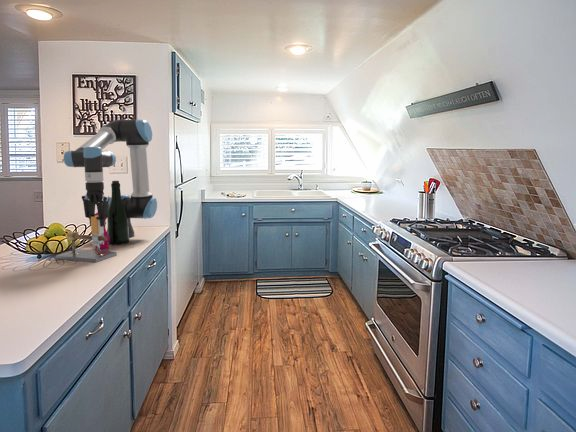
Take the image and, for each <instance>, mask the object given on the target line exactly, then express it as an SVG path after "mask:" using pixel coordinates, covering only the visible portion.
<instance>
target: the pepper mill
mask: <svg viewBox="0 0 576 432" xmlns="http://www.w3.org/2000/svg"><path fill="white" fill-rule="evenodd" d="M96 215H98V211H97V212H95V216H96ZM104 224H105V225H104V226H103V227H104V237H107V240H105V241H104V244H100V251H105V250H108V249H110V244H109V243H108V242H109V241H110V239H109V236H108V234H107V228H106V225H107V218H105V219H104ZM94 247H95V250H97V251H98V249H97V246H94Z"/></svg>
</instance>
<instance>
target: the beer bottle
mask: <svg viewBox="0 0 576 432" xmlns="http://www.w3.org/2000/svg"><path fill="white" fill-rule="evenodd" d="M110 186H111V196H110V197H111V202H110V205H109V208H108V218H107V219H106V225H107V228H108V236H109V239H110V241H109V242H108V244H109V245H113V246H119V245H121V246H122V245H126V244H129V243H130V237H129V228H128V216H127V211H126V208H125V206H124V203H123V201H122V198H121V195H122V194H121V193H122V192H121V184H120V181H119V180H111V184H110Z"/></svg>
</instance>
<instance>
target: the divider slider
mask: <svg viewBox="0 0 576 432" xmlns="http://www.w3.org/2000/svg"><path fill="white" fill-rule="evenodd" d="M98 219H99V216H98V215H96V216H91V226H90V228H92V233H91V236H92V240H91V241H92V247H95V246H97V249H98V250H97V249H96V250H97V251H98V253H100V252H99V251H101V250H100V244H104V241H100V240H99V236H104V233H102V234H98Z"/></svg>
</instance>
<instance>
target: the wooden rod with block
mask: <svg viewBox="0 0 576 432" xmlns="http://www.w3.org/2000/svg"><path fill="white" fill-rule="evenodd" d="M66 239H67V240H66V241H68V240H69V241H71V249H72V250H71V251H72V252H73V253H75V250H76V242H75V240H90V241H92V235H89V234H79V231H71V232H66ZM99 240H100V241H105V240H107V237H104V236H99Z"/></svg>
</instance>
